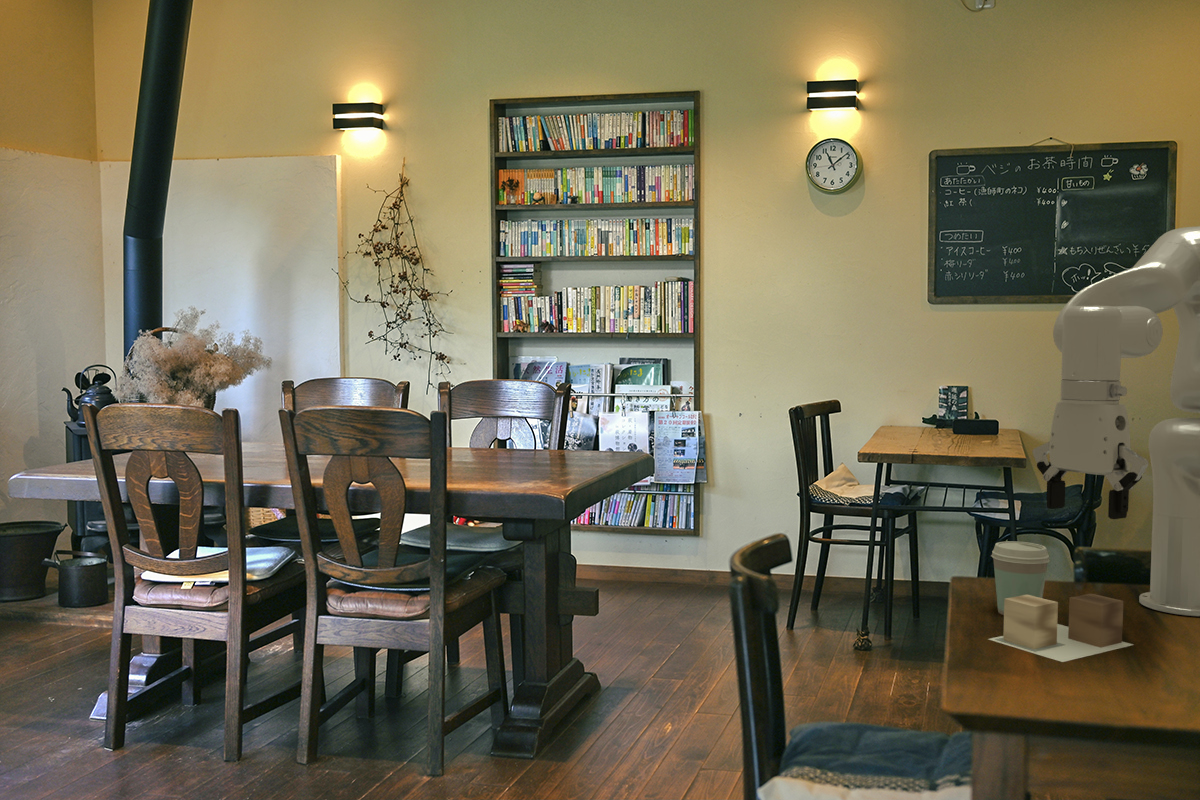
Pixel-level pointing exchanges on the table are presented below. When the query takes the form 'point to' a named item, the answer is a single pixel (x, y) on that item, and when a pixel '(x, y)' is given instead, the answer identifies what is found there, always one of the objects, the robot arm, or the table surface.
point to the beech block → (1030, 621)
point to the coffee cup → (1019, 570)
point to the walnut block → (1095, 620)
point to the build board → (1064, 647)
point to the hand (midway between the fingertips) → (1085, 513)
